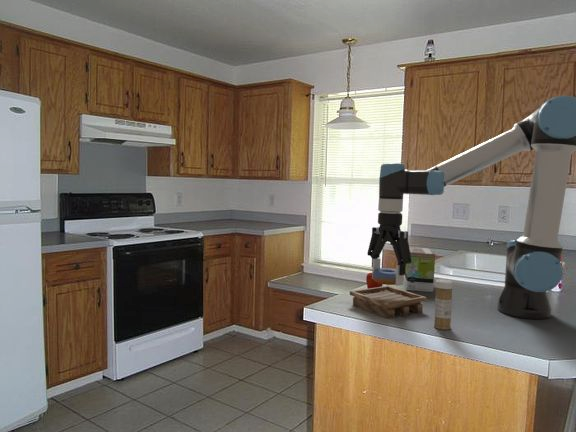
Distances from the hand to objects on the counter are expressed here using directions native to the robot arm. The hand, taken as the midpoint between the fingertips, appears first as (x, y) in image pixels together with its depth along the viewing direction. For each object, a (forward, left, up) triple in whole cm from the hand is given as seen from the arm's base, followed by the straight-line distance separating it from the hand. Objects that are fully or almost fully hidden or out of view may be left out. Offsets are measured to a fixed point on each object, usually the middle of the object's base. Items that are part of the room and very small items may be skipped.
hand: (387, 281), depth 141 cm
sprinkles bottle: (-22, -1, -9) cm, 23 cm away
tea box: (+16, -33, -9) cm, 38 cm away
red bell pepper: (+17, -11, -9) cm, 22 cm away
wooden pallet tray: (0, 0, -9) cm, 9 cm away
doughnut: (0, 0, -1) cm, 1 cm away
